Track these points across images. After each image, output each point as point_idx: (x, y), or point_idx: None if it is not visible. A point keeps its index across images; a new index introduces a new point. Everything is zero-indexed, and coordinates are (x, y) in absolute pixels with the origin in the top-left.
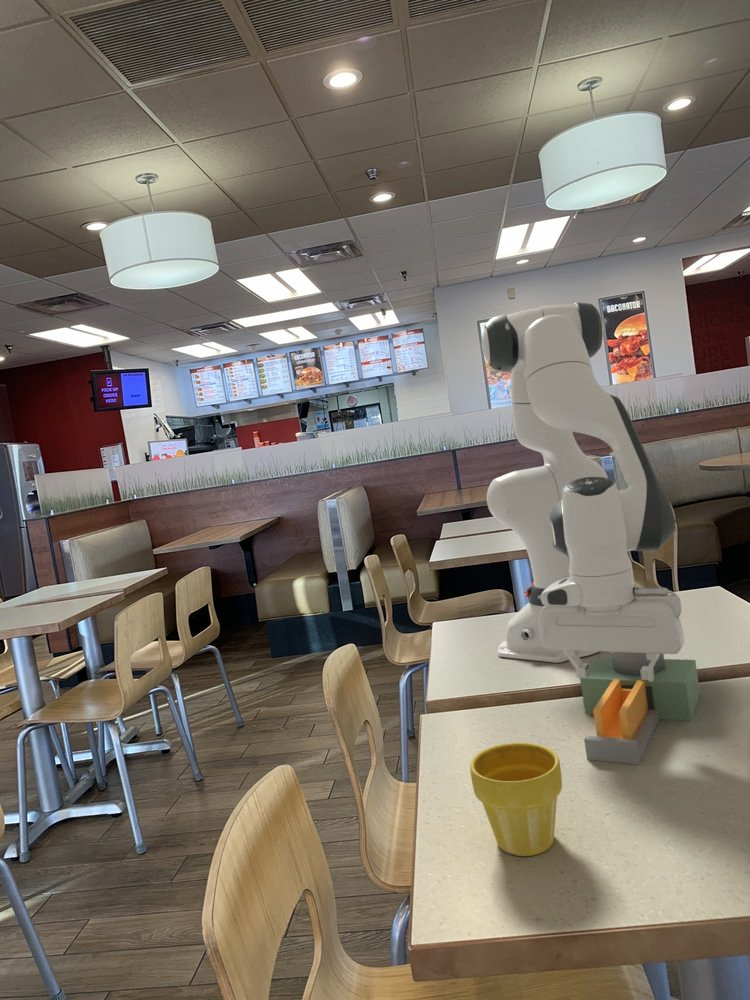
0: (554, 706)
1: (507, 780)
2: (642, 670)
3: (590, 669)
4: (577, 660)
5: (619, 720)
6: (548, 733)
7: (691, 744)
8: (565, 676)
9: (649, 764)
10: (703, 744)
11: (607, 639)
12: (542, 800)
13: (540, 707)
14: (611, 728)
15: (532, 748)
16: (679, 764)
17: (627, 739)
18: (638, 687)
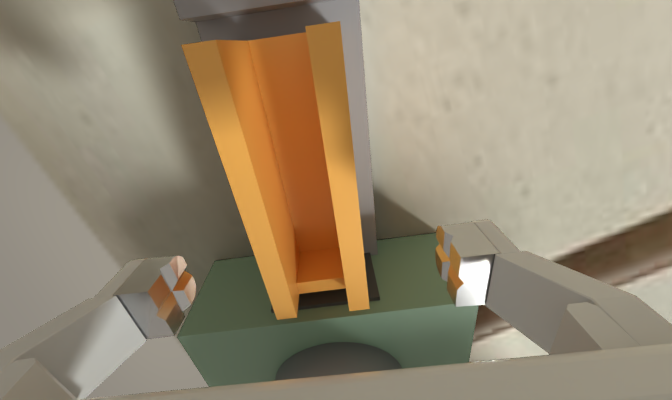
0: (516, 245)
1: None
2: (135, 294)
3: (461, 350)
4: (526, 300)
5: (315, 166)
6: (507, 106)
7: (152, 164)
8: (515, 354)
9: (175, 11)
10: (130, 172)
11: None
12: None
13: (550, 232)
14: (315, 107)
15: None
16: (108, 44)
17: (212, 11)
18: (267, 275)
